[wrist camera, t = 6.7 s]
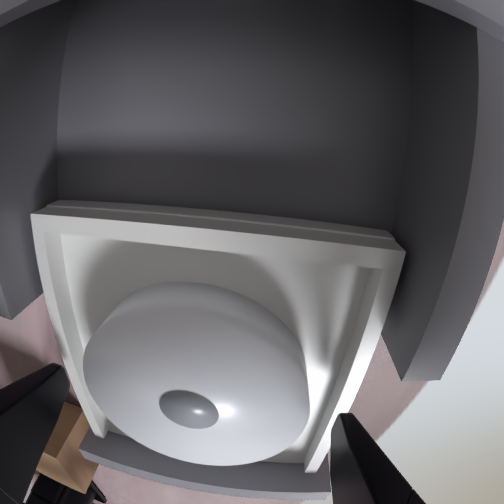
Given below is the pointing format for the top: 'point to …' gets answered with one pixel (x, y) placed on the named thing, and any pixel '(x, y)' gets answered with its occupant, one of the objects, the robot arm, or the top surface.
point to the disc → (199, 374)
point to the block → (68, 451)
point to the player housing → (268, 131)
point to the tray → (237, 280)
